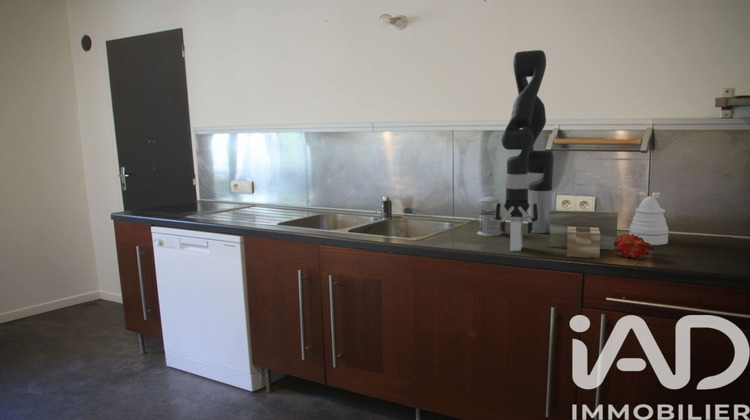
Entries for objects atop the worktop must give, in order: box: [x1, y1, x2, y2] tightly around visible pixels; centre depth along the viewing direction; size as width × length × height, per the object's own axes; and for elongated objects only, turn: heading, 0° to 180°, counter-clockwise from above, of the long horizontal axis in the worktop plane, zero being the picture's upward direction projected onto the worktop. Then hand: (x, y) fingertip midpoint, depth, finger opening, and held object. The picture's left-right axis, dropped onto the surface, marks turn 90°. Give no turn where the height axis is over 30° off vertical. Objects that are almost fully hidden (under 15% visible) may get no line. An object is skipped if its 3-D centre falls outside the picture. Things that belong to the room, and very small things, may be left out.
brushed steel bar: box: [509, 215, 524, 252], centre depth 192 cm, size 7×4×12 cm, turn 160°
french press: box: [473, 172, 502, 237], centre depth 221 cm, size 10×12×25 cm
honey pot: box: [628, 192, 669, 246], centre depth 199 cm, size 13×13×18 cm
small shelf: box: [548, 210, 619, 259], centre depth 184 cm, size 16×22×13 cm
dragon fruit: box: [613, 233, 654, 260], centre depth 175 cm, size 8×8×12 cm
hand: (516, 232), depth 192 cm, fingers open, 8 cm apart
